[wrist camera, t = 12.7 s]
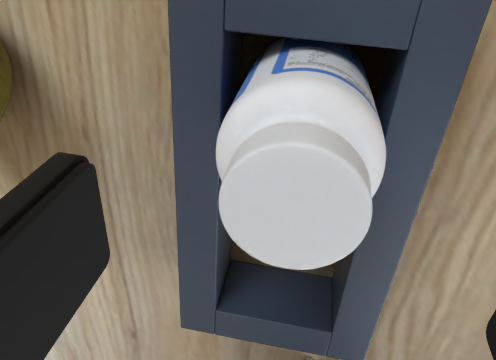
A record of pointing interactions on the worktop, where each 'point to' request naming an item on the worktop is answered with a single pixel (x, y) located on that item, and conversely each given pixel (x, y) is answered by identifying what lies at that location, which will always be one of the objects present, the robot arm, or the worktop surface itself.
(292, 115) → the pill bottle
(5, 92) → the apple
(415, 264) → the worktop surface
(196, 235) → the holder
